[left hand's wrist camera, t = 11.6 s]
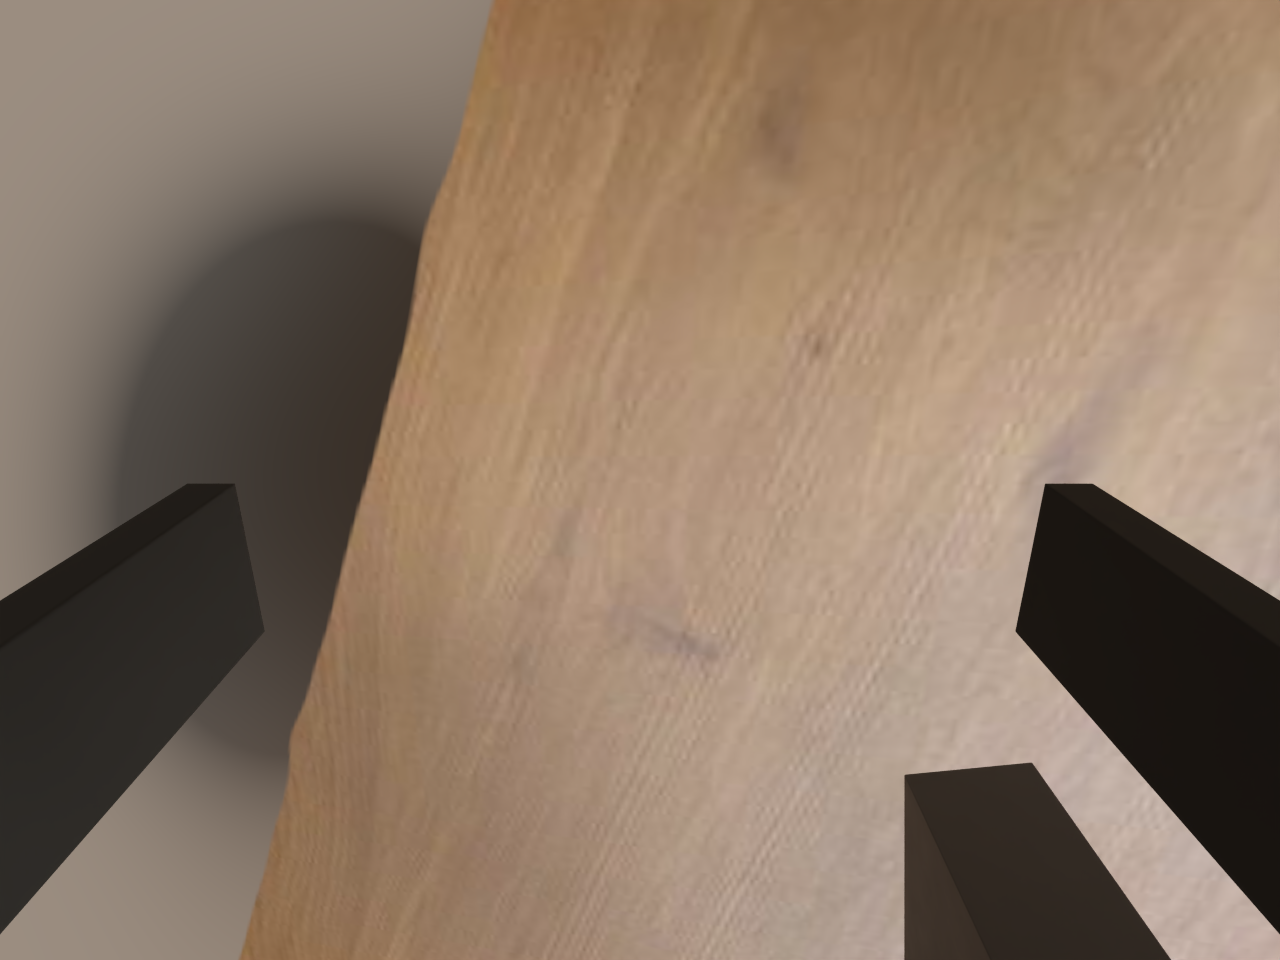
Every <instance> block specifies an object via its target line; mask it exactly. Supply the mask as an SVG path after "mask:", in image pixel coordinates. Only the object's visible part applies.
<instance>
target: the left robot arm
mask: <svg viewBox="0 0 1280 960" xmlns="http://www.w3.org/2000/svg"><path fill="white" fill-rule="evenodd" d="M263 632H264V627H263V622H262V617H261V612H260V607H259V602H258V597H257V592H256V587H255V582H254V577H253V572H252V567H251V562H250V557H249V552H248V547H247V542H246V537H245V532H244V527H243V522H242V517H241V512H240V507H239V502H238V497H237V493H236V487H235V484H186V485H185V486H183V487H182V488H180V489H178V490H177V491H175V492H174V493H172V494H170V495H169V496H167V497H166V498H164V499H162V500H161V501H159V502H157V503H156V504H154V505H153V506H151V507H150V508H148V509H146V510H145V511H143V512H141V513H140V514H138V515H137V516H135V517H133V518H132V519H130V520H129V521H127V522H126V523H124V524H122V525H121V526H119V527H118V528H116V529H114V530H113V531H111V532H109V533H108V534H106V535H105V536H103V537H101V538H100V539H98V540H97V541H95V542H93V543H92V544H90V545H89V546H87V547H85V548H84V549H82V550H81V551H79V552H77V553H76V554H74V555H73V556H71V557H69V558H68V559H66V560H65V561H63V562H61V563H60V564H58V565H57V566H55V567H53V568H52V569H50V570H49V571H47V572H45V573H44V574H42V575H41V576H39V577H37V578H36V579H34V580H33V581H31V582H29V583H28V584H26V585H25V586H23V587H21V588H20V589H18V590H17V591H15V592H13V593H12V594H10V595H9V596H7V597H5V598H4V599H2V600H1V601H0V934H1V933H2V931H3V930H4V929H5V928H6V927H7V926H8V925H9V923H10V922H11V921H12V920H13V919H14V918H15V916H16V915H17V914H18V913H19V912H20V911H21V910H22V909H23V907H24V906H25V905H26V904H27V903H28V902H29V900H30V899H31V898H32V897H33V896H34V895H35V894H36V892H37V891H38V890H39V889H40V888H41V887H42V886H43V884H44V883H45V882H46V881H47V880H48V879H49V878H50V876H51V875H52V874H53V873H54V872H55V871H56V870H57V868H58V867H59V866H60V865H61V864H62V863H63V862H64V860H65V859H66V858H67V857H68V856H69V855H70V854H71V852H72V851H73V850H74V849H75V848H76V847H77V846H78V844H79V843H80V842H81V841H82V840H83V839H84V838H85V836H86V835H87V834H88V833H89V832H90V831H91V830H92V828H93V827H94V826H95V825H96V824H97V823H98V821H99V820H100V819H101V818H102V817H103V816H104V815H105V813H106V812H107V811H108V810H109V809H110V808H111V807H112V805H113V804H114V803H115V802H116V801H117V800H118V799H119V797H120V796H121V795H122V794H123V793H124V792H125V791H126V789H127V788H128V787H129V786H130V785H131V784H132V783H133V781H134V780H135V779H136V778H137V777H138V776H139V774H140V773H141V772H142V771H143V770H144V769H145V768H146V766H147V765H148V764H149V763H150V762H151V761H152V760H153V758H154V757H155V756H156V755H157V754H158V753H159V752H160V750H161V749H162V748H163V747H164V746H165V745H166V744H167V742H168V741H169V740H170V739H171V738H172V737H173V736H174V734H175V733H176V732H177V731H178V730H179V729H180V728H181V726H182V725H183V724H184V723H185V722H186V721H187V719H188V718H189V717H190V716H191V715H192V714H193V713H194V712H195V710H196V709H197V708H198V707H199V706H200V705H201V703H202V702H203V701H204V700H205V699H206V698H207V697H208V695H209V694H210V693H211V692H212V691H213V690H214V689H215V687H216V686H217V685H218V684H219V683H220V682H221V681H222V679H223V678H224V677H225V676H226V675H227V674H228V673H229V671H230V670H231V669H232V668H233V667H234V666H235V665H236V663H237V662H238V661H239V660H240V659H241V658H242V656H243V655H244V654H245V653H246V652H247V651H248V650H249V649H250V647H251V646H252V645H253V644H254V643H255V642H256V641H257V639H258V638H259V637H260V636H261V635H262V634H263ZM1016 632H1017V634H1018V635H1019V636H1020V637H1021V638H1022V639H1023V641H1024V642H1025V643H1026V644H1027V645H1028V646H1029V647H1030V649H1031V650H1032V651H1033V652H1034V653H1035V654H1036V655H1037V657H1038V658H1039V659H1040V660H1041V661H1042V662H1043V663H1044V665H1045V666H1046V667H1047V668H1048V669H1049V670H1050V671H1051V673H1052V674H1053V675H1054V676H1055V677H1056V678H1057V679H1058V681H1059V682H1060V683H1061V684H1062V685H1063V686H1064V687H1065V689H1066V690H1067V691H1068V692H1069V693H1070V694H1071V695H1072V697H1073V698H1074V699H1075V700H1076V701H1077V702H1078V704H1079V705H1080V706H1081V707H1082V708H1083V709H1084V710H1085V712H1086V713H1087V714H1088V715H1089V716H1090V717H1091V718H1092V720H1093V721H1094V722H1095V723H1096V724H1097V725H1098V726H1099V728H1100V729H1101V730H1102V731H1103V732H1104V733H1105V734H1106V736H1107V737H1108V738H1109V739H1110V740H1111V741H1112V742H1113V744H1114V745H1115V746H1116V747H1117V748H1118V749H1119V750H1120V752H1121V753H1122V754H1123V755H1124V756H1125V757H1126V758H1127V760H1128V761H1129V762H1130V763H1131V764H1132V765H1133V767H1134V768H1135V769H1136V770H1137V771H1138V772H1139V773H1140V775H1141V776H1142V777H1143V778H1144V779H1145V780H1146V781H1147V783H1148V784H1149V785H1150V786H1151V787H1152V788H1153V789H1154V791H1155V792H1156V793H1157V794H1158V795H1159V796H1160V797H1161V799H1162V800H1163V801H1164V802H1165V803H1166V804H1167V805H1168V807H1169V808H1170V809H1171V810H1172V811H1173V812H1174V813H1175V815H1176V816H1177V817H1178V818H1179V819H1180V820H1181V821H1182V823H1183V824H1184V825H1185V826H1186V827H1187V828H1188V830H1189V831H1190V832H1191V833H1192V834H1193V835H1194V836H1195V838H1196V839H1197V840H1198V841H1199V842H1200V843H1201V844H1202V846H1203V847H1204V848H1205V849H1206V850H1207V851H1208V852H1209V854H1210V855H1211V856H1212V857H1213V858H1214V859H1215V860H1216V862H1217V863H1218V864H1219V865H1220V866H1221V867H1222V868H1223V870H1224V871H1225V872H1226V873H1227V874H1228V875H1229V876H1230V878H1231V879H1232V880H1233V881H1234V882H1235V883H1236V884H1237V886H1238V887H1239V888H1240V889H1241V890H1242V891H1243V893H1244V894H1245V895H1246V896H1247V897H1248V898H1249V899H1250V901H1251V902H1252V903H1253V904H1254V905H1255V906H1256V907H1257V909H1258V910H1259V911H1260V912H1261V913H1262V914H1263V915H1264V917H1265V918H1266V919H1267V920H1268V921H1269V922H1270V923H1271V925H1272V926H1273V927H1274V928H1275V929H1276V930H1277V931H1278V933H1279V934H1280V601H1279V600H1278V599H1276V598H1275V597H1273V596H1271V595H1270V594H1268V593H1267V592H1265V591H1263V590H1262V589H1260V588H1259V587H1257V586H1255V585H1254V584H1252V583H1251V582H1249V581H1247V580H1246V579H1244V578H1243V577H1241V576H1239V575H1238V574H1236V573H1235V572H1233V571H1231V570H1230V569H1228V568H1227V567H1225V566H1223V565H1222V564H1220V563H1219V562H1217V561H1215V560H1214V559H1212V558H1211V557H1209V556H1207V555H1206V554H1204V553H1203V552H1201V551H1199V550H1198V549H1196V548H1195V547H1193V546H1191V545H1190V544H1188V543H1187V542H1185V541H1183V540H1182V539H1180V538H1179V537H1177V536H1175V535H1174V534H1172V533H1171V532H1169V531H1167V530H1166V529H1164V528H1163V527H1161V526H1159V525H1158V524H1156V523H1155V522H1153V521H1151V520H1150V519H1148V518H1147V517H1145V516H1143V515H1142V514H1140V513H1139V512H1137V511H1135V510H1134V509H1132V508H1131V507H1129V506H1127V505H1126V504H1124V503H1123V502H1121V501H1119V500H1118V499H1116V498H1114V497H1113V496H1111V495H1110V494H1108V493H1106V492H1105V491H1103V490H1102V489H1100V488H1098V487H1097V486H1095V485H1094V484H1045V487H1044V492H1043V497H1042V502H1041V507H1040V512H1039V517H1038V522H1037V527H1036V532H1035V537H1034V542H1033V547H1032V552H1031V557H1030V562H1029V567H1028V572H1027V577H1026V582H1025V587H1024V592H1023V597H1022V602H1021V607H1020V612H1019V617H1018V622H1017V627H1016Z"/></svg>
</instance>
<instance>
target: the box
mask: <svg viewBox="0 0 1280 960" xmlns="http://www.w3.org/2000/svg"><path fill="white" fill-rule="evenodd" d="M905 960H1171V959H1170V958H1169V956H1168V955H1167V953H1166V952H1165V951H1164V949H1163V948H1162V946H1161V945H1160V943H1159V942H1158V941H1157V939H1156V938H1155V936H1154V935H1153V934H1152V932H1151V931H1150V929H1149V928H1148V926H1147V925H1146V924H1145V922H1144V921H1143V919H1142V918H1141V917H1140V915H1139V914H1138V912H1137V911H1136V909H1135V908H1134V907H1133V905H1132V904H1131V902H1130V901H1129V900H1128V898H1127V897H1126V895H1125V894H1124V892H1123V891H1122V890H1121V888H1120V887H1119V885H1118V884H1117V882H1116V881H1115V880H1114V878H1113V877H1112V875H1111V874H1110V873H1109V871H1108V870H1107V868H1106V867H1105V865H1104V864H1103V863H1102V861H1101V860H1100V858H1099V857H1098V856H1097V854H1096V853H1095V851H1094V850H1093V848H1092V847H1091V846H1090V844H1089V843H1088V841H1087V840H1086V839H1085V837H1084V836H1083V834H1082V833H1081V831H1080V830H1079V829H1078V827H1077V826H1076V824H1075V823H1074V822H1073V820H1072V819H1071V817H1070V816H1069V814H1068V813H1067V812H1066V810H1065V809H1064V807H1063V806H1062V805H1061V803H1060V802H1059V800H1058V799H1057V797H1056V796H1055V795H1054V793H1053V792H1052V790H1051V789H1050V788H1049V786H1048V785H1047V783H1046V782H1045V780H1044V779H1043V778H1042V776H1041V775H1040V773H1039V772H1038V771H1037V769H1036V768H1035V766H1034V765H1033V763H1023V764H1012V765H1002V766H992V767H981V768H971V769H960V770H950V771H940V772H929V773H919V774H908V775H905Z"/></svg>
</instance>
